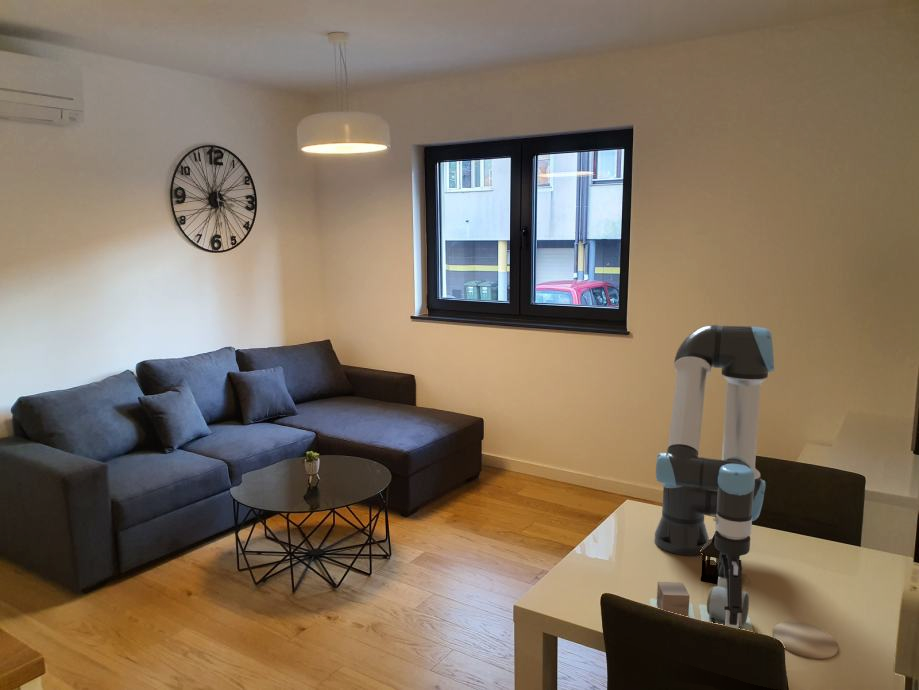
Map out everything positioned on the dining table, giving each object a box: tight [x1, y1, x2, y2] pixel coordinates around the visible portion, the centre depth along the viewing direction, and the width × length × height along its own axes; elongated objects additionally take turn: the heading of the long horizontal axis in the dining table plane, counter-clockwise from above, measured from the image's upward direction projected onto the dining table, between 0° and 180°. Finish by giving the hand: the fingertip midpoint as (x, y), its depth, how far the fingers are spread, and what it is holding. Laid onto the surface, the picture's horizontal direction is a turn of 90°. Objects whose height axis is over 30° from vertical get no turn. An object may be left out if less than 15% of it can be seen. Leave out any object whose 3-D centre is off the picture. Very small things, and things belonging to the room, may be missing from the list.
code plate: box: [698, 603, 755, 633], centre depth 157 cm, size 14×11×1 cm
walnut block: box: [656, 581, 690, 616], centre depth 161 cm, size 6×6×6 cm
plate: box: [649, 597, 696, 619], centre depth 162 cm, size 10×10×1 cm
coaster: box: [772, 621, 839, 660], centre depth 150 cm, size 13×13×1 cm
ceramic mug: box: [706, 585, 750, 627], centre depth 156 cm, size 11×8×8 cm
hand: (726, 618), depth 157 cm, fingers open, 13 cm apart
